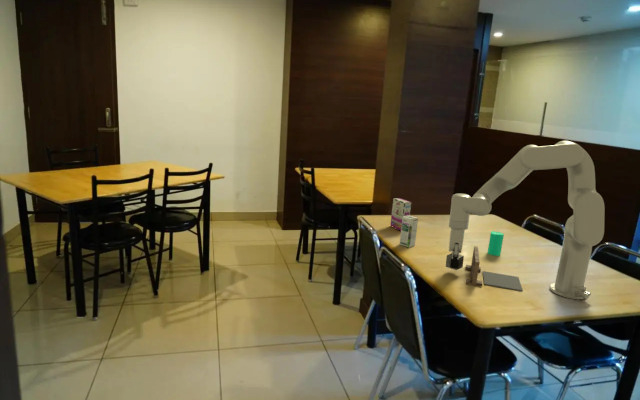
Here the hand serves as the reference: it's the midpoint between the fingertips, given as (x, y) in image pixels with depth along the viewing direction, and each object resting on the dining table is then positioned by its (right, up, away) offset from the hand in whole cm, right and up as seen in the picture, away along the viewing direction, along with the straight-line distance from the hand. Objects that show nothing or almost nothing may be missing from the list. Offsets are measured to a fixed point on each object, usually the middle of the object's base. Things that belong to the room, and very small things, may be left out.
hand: (454, 264), depth 178 cm
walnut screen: (+7, -5, -1) cm, 9 cm away
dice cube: (0, -1, 0) cm, 1 cm away
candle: (+28, +1, +28) cm, 40 cm away
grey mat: (+18, -6, -5) cm, 19 cm away
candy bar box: (-12, +11, +60) cm, 62 cm away
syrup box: (-13, +5, +33) cm, 36 cm away
